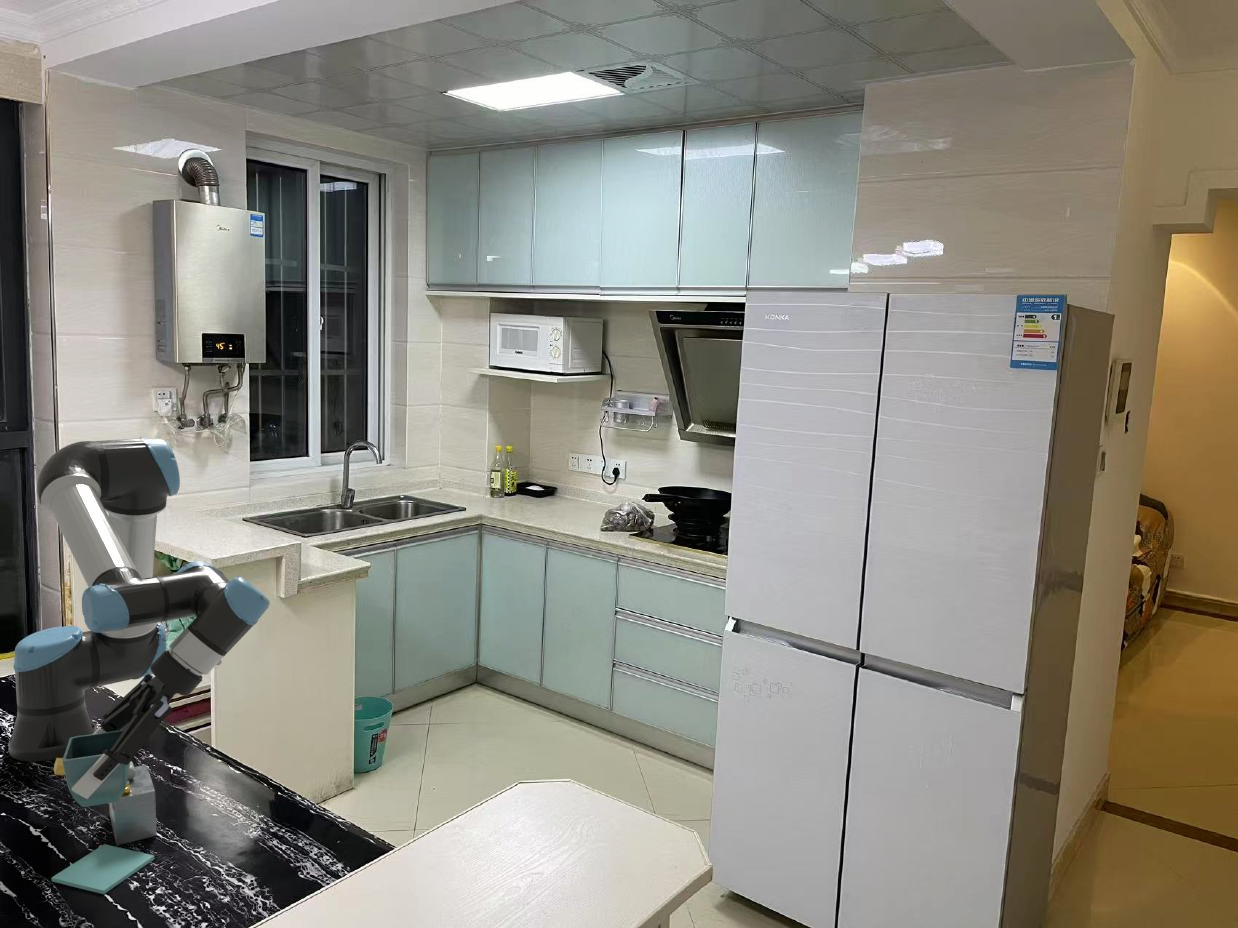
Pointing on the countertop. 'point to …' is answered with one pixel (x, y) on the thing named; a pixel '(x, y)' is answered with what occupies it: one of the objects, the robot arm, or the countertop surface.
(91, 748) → the flower pot
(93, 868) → the pad
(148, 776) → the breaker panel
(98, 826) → the countertop surface
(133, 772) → the lever
